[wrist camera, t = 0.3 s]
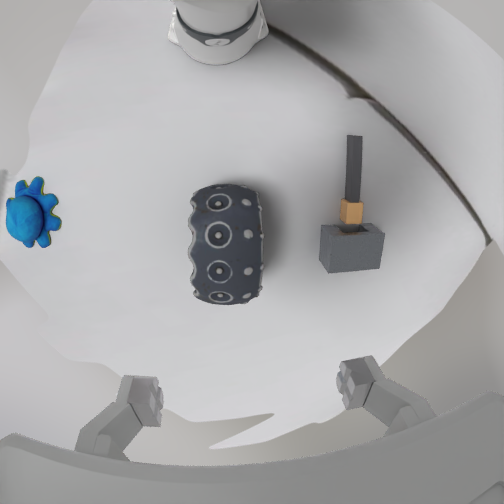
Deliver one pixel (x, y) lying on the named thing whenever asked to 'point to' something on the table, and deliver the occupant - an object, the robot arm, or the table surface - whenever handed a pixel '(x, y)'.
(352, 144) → the plug
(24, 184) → the plush toy
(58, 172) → the table surface
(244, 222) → the dotted bowl
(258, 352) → the table surface
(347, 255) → the slotted block
